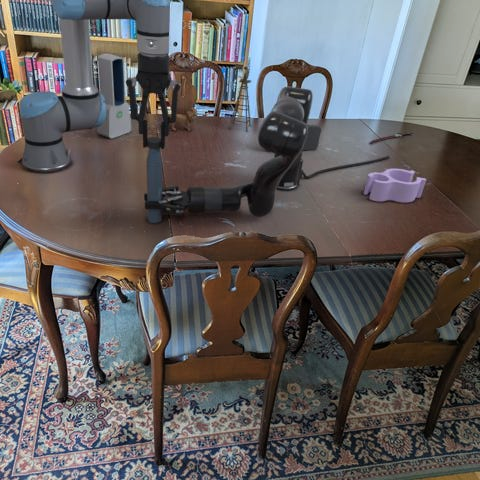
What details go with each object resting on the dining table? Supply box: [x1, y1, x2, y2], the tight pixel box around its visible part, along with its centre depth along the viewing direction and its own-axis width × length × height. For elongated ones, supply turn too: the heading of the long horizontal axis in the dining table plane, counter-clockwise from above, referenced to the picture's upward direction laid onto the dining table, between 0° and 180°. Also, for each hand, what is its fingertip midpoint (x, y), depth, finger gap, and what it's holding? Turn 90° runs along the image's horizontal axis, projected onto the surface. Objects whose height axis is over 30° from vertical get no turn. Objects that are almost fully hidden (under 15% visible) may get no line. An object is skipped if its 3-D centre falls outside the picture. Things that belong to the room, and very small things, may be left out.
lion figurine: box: [169, 107, 198, 132], centre depth 197 cm, size 15×5×9 cm, turn 110°
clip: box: [362, 168, 427, 203], centre depth 162 cm, size 20×12×7 cm, turn 109°
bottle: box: [146, 148, 163, 224], centre depth 129 cm, size 4×4×24 cm
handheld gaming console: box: [303, 124, 322, 151], centre depth 189 cm, size 23×3×10 cm, turn 108°
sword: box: [370, 132, 414, 145], centre depth 214 cm, size 31×3×1 cm, turn 126°
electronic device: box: [96, 53, 132, 139], centre depth 180 cm, size 12×8×30 cm, turn 148°
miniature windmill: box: [228, 58, 252, 132], centre depth 200 cm, size 9×8×30 cm
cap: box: [146, 136, 161, 149], centre depth 123 cm, size 4×4×2 cm
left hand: (154, 146), depth 123 cm, fingers closed on cap, 4 cm apart
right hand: (144, 201), depth 132 cm, fingers closed on bottle, 4 cm apart
